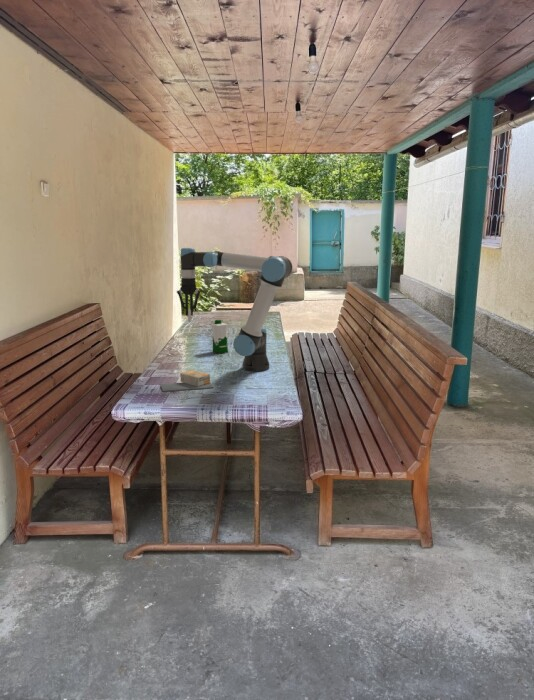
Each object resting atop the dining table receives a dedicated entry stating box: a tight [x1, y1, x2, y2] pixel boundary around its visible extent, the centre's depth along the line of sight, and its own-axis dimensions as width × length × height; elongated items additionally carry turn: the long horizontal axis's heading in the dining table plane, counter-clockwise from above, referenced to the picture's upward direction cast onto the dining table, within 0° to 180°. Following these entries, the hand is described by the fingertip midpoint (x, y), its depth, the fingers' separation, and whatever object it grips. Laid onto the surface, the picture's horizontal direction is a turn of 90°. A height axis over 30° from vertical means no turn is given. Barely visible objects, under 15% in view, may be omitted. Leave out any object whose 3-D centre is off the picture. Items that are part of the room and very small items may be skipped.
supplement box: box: [179, 369, 211, 386], centre depth 262 cm, size 8×5×13 cm
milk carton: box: [211, 319, 229, 354], centre depth 331 cm, size 9×9×20 cm
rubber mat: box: [160, 382, 214, 393], centre depth 257 cm, size 24×12×1 cm, turn 106°
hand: (189, 321), depth 286 cm, fingers closed
